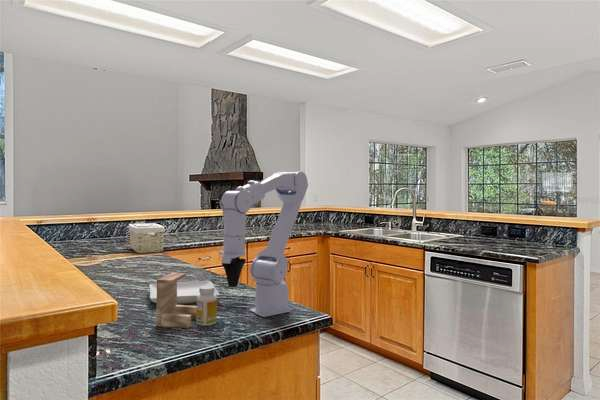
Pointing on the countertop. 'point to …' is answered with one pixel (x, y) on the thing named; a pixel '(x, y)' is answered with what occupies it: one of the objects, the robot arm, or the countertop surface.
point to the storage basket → (146, 237)
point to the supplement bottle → (206, 306)
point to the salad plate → (184, 291)
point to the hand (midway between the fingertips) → (233, 286)
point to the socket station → (172, 304)
